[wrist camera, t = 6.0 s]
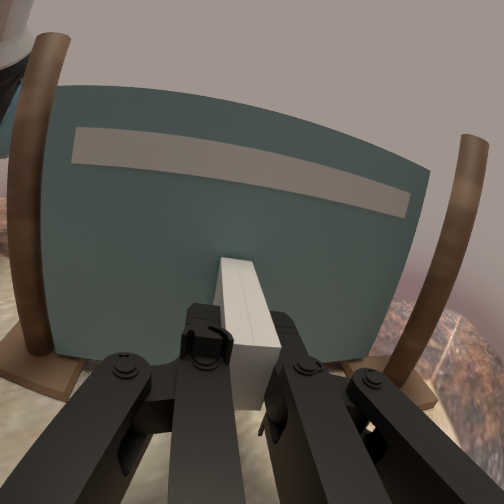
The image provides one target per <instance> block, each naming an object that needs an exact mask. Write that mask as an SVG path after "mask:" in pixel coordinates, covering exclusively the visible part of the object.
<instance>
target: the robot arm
mask: <svg viewBox="0 0 504 504" xmlns="http://www.w3.org/2000/svg"><path fill="white" fill-rule="evenodd" d="M33 2H34V0H0V159H5V158H8V157H9V153H10V144H11V136H12V129H13V123H14V117H15V112H16V107H17V102H18V97H19V93H20V89H21V85H22V81H23V77H24V74H25V70H26V67H27V63H28V60H29V57H30V54H31V51H32V48H33V45H34V42H35V37H34V35H33V34H32V33H31V31H30V30H29V29H28V28H27V21H28V18H29V15H30V11H31V8H32V5H33ZM264 401H265V406H266V413H265V415H264V418H263V421H262V423H261V426H260V428H259V431H258V436H262V434H263V431H264V429H265V434H266V439H267V444H268V449H269V454H270V459H271V463H272V468H273V473H274V477H275V482H276V487H277V491H278V496H279V500H280V504H504V491H503V490H502V489H501V488H500V487H499V486H498V485H497V484H496V483H495V482H494V481H493V480H492V479H491V478H490V477H489V476H488V475H487V474H486V473H485V472H484V471H483V470H482V469H481V468H480V467H479V466H478V465H477V464H476V463H475V462H474V461H473V460H472V459H471V458H470V457H469V456H468V455H467V454H466V453H465V452H464V451H462V450H461V449H460V448H459V447H458V446H457V445H456V444H455V443H454V442H453V441H452V440H451V439H450V438H449V437H448V436H447V435H446V434H445V433H444V432H443V431H442V430H441V429H440V428H439V427H438V426H437V425H436V424H435V423H434V422H433V421H432V420H431V419H430V418H429V417H428V416H427V415H426V414H425V413H424V412H423V411H422V410H421V409H420V408H419V407H418V406H417V405H415V404H414V403H413V402H412V401H411V400H410V399H409V398H408V397H407V396H406V395H405V394H404V393H403V392H402V391H401V390H400V389H399V388H398V387H397V386H396V385H395V384H394V383H393V382H392V381H391V380H390V379H389V378H388V377H387V376H385V375H384V374H383V373H381V372H379V371H377V370H375V369H371V368H360V369H358V370H356V371H355V372H354V374H353V375H352V377H351V378H346V377H341V376H336V375H332V374H329V372H328V370H327V368H326V367H325V365H324V364H323V363H322V362H321V361H319V360H318V359H316V358H314V357H311V356H309V354H308V352H307V350H306V348H305V345H304V343H303V341H302V339H301V337H300V336H299V332H298V330H297V329H296V326H295V324H294V321H293V319H292V318H290V317H289V316H288V315H287V314H286V313H285V312H278V311H269V309H268V307H267V304H266V301H265V298H264V295H263V292H262V289H261V286H260V283H259V280H258V277H257V275H256V272H255V269H254V266H253V263H252V261H245V260H238V259H231V258H224V257H221V259H220V265H219V271H218V277H217V283H216V290H215V296H214V302H213V305H208V304H201V303H193V304H192V305H191V306H190V307H189V308H188V309H187V314H186V321H185V328H184V330H183V332H182V334H181V346H180V355H179V356H178V358H177V359H175V360H174V361H172V362H170V363H167V364H162V365H152V366H150V364H149V363H148V362H147V361H146V360H145V359H144V358H143V357H141V356H139V355H137V354H133V353H129V352H118V353H115V354H111V355H109V356H108V357H106V358H105V359H104V360H103V361H102V362H101V363H100V364H99V365H98V366H97V367H96V369H95V370H94V371H93V372H92V373H91V374H90V376H89V377H88V378H87V379H86V380H85V381H84V383H83V384H82V385H81V386H80V387H79V389H78V390H77V391H76V392H75V393H74V395H73V396H72V397H71V398H70V399H69V401H68V402H67V403H66V404H65V405H64V407H63V408H62V409H61V410H60V411H59V413H58V414H57V415H56V416H55V418H54V419H53V420H52V421H51V422H50V424H49V425H48V426H47V427H46V429H45V430H44V431H43V433H42V434H41V435H40V436H39V438H38V439H37V440H36V441H35V443H34V444H33V445H32V447H31V448H30V449H29V450H28V452H27V453H26V454H25V456H24V457H23V458H22V460H21V461H20V462H19V464H18V465H17V466H16V468H15V469H14V470H13V472H12V473H11V474H10V476H9V477H8V478H7V480H6V481H5V483H4V484H3V485H2V487H1V488H0V504H120V503H121V501H122V499H123V497H124V495H125V493H126V491H127V489H128V487H129V484H130V482H131V480H132V478H133V476H134V474H135V472H136V470H137V468H138V466H139V463H140V461H141V459H142V457H143V455H144V453H145V451H146V449H147V447H148V445H149V443H150V440H151V438H152V436H153V434H157V433H165V432H172V436H171V450H170V465H169V484H168V504H246V501H245V494H244V487H243V479H242V472H241V465H240V457H239V449H238V441H237V432H236V424H235V415H234V410H257V411H260V410H261V407H262V405H263V402H264ZM370 421H371V423H372V424H373V425H374V426H375V427H376V428H375V429H374V430H373V432H370V431H369V430H367V429H366V427H367V426H368V424H369V423H370Z"/></svg>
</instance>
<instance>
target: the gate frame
mask: <svg viewBox="0 0 504 504" xmlns="http://www.w3.org/2000/svg"><path fill="white" fill-rule="evenodd" d="M70 41H71V38H70V37H69V36H67V35H65V34H61V33H53V32H49V33H43V34H40V35H38V36H37V37H36V39H35V42H34V45H33V48H32V51H31V54H30V57H29V60H28V63H27V67H26V70H25V74H24V77H23V81H22V85H21V89H20V93H19V97H18V102H17V107H16V112H15V117H14V123H13V129H12V136H11V144H10V153H9V163H8V179H7V233H8V248H9V258H10V267H11V275H12V282H13V289H14V295H15V300H16V305H17V310H18V315H19V322H18V323H17V324H16V325H15V326H14V327H13V328H12V329H11V331H10V332H9V333H8V334H7V335H6V336H5V338H4V339H3V340H2V341H1V342H0V376H1V377H4V378H6V379H8V380H10V381H12V382H15V383H17V384H19V385H22V386H24V387H26V388H29V389H31V390H34V391H37V392H39V393H42V394H45V395H47V396H50V397H53V398H56V399H59V400H62V401H65V402H67V400H68V398H69V396H70V394H71V391H72V389H73V387H74V385H75V383H76V381H77V378H78V376H79V374H80V372H81V370H82V368H83V366H84V364H85V362H86V360H87V359H86V358H80V357H73V356H67V355H62V354H56V350H55V345H54V341H53V336H52V331H51V326H50V320H49V314H48V308H47V301H46V294H45V286H44V276H43V265H42V249H41V190H42V175H43V164H44V154H45V146H46V139H47V132H48V126H49V121H50V115H51V110H52V105H53V101H54V96H55V92H56V88H57V84H58V80H59V76H60V72H61V69H62V66H63V62H64V59H65V56H66V53H67V50H68V47H69V44H70ZM488 150H489V143H488V142H487V141H485V140H484V139H481V138H479V137H477V136H474V135H469V134H463V135H461V142H460V149H459V155H458V161H457V166H456V172H455V177H454V182H453V187H452V192H451V196H450V200H449V204H448V209H447V212H446V216H445V220H444V224H443V227H442V230H441V234H440V237H439V240H438V244H437V247H436V250H435V253H434V256H433V259H432V262H431V265H430V268H429V271H428V274H427V276H426V279H425V282H424V284H423V287H422V289H421V292H420V294H419V297H418V300H417V302H416V304H415V306H414V309H413V311H412V313H411V316H410V318H409V320H408V322H407V325H406V327H405V329H404V331H403V333H402V335H401V337H400V340H399V342H398V344H397V346H396V348H395V350H394V352H393V354H392V355H386V356H367V357H365V358H358V359H350V360H343V361H342V363H341V366H342V368H343V370H344V371H345V373H346V375H347V377H348V378H351V377H352V375H353V374H354V372H355V371H356V370H358V369H360V368H371V369H375V370H377V371H379V372H381V373H383V374H384V375H385V376H387V377H388V378H389V379H390V380H391V381H392V382H393V383H394V384H395V385H396V386H397V387H398V388H399V389H400V390H401V391H402V392H403V393H404V394H405V395H406V396H407V397H408V398H409V399H410V400H411V401H412V402H413V403H414V404H415V405H417V406H418V407H419V408H420V409H421V410H426V409H429V408H433V407H434V406H435V404H436V403H437V402H438V398H437V397H436V396H435V395H434V393H433V392H432V391H431V389H430V388H429V387H428V386H427V384H426V383H425V382H424V381H423V380H422V378H421V377H420V376H419V375H418V373H417V372H416V371H415V370H414V367H415V365H416V363H417V362H418V360H419V358H420V356H421V354H422V353H423V351H424V349H425V347H426V345H427V343H428V341H429V339H430V337H431V335H432V333H433V331H434V329H435V327H436V325H437V323H438V321H439V319H440V316H441V314H442V312H443V310H444V307H445V305H446V303H447V300H448V298H449V296H450V293H451V291H452V288H453V286H454V283H455V280H456V278H457V275H458V272H459V270H460V267H461V264H462V261H463V258H464V255H465V252H466V249H467V246H468V242H469V239H470V236H471V232H472V229H473V225H474V221H475V217H476V214H477V210H478V205H479V201H480V197H481V192H482V187H483V181H484V176H485V170H486V163H487V157H488Z"/></svg>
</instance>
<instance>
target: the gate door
mask: <svg viewBox="0 0 504 504" xmlns="http://www.w3.org/2000/svg"><path fill="white" fill-rule="evenodd" d="M429 176H430V170H428V169H426V168H424V167H422V166H420V165H418V164H416V163H414V162H411V161H409V160H407V159H405V158H403V157H401V156H398V155H396V154H394V153H392V152H389V151H387V150H385V149H382V148H380V147H378V146H375V145H373V144H370V143H368V142H365V141H363V140H360V139H358V138H355V137H352V136H350V135H347V134H344V133H341V132H339V131H336V130H333V129H330V128H327V127H324V126H321V125H318V124H315V123H312V122H309V121H305V120H302V119H299V118H296V117H292V116H288V115H285V114H281V113H278V112H274V111H270V110H267V109H263V108H258V107H254V106H250V105H246V104H241V103H236V102H232V101H227V100H222V99H216V98H211V97H206V96H200V95H194V94H187V93H180V92H173V91H165V90H156V89H146V88H134V87H120V86H93V85H91V86H90V85H89V86H88V85H73V86H57V88H56V92H55V96H54V101H53V105H52V110H51V115H50V121H49V126H48V132H47V139H46V146H45V154H44V164H43V175H42V190H41V249H42V265H43V276H44V286H45V294H46V301H47V308H48V314H49V320H50V326H51V331H52V336H53V341H54V345H55V350H56V354H62V355H67V356H73V357H80V358H86V359H93V360H101V361H103V360H104V359H105V358H106V357H108V356H109V355H111V354H115V353H118V352H129V353H133V354H137V355H139V356H141V357H143V358H144V359H145V360H146V361H147V362H148V363H149V364H150V366H152V365H162V364H167V363H170V362H172V361H174V360H175V359H177V358H178V356H179V355H180V346H181V334H182V332H183V330H184V328H185V321H186V314H187V309H188V308H189V307H190V306H191V305H192V304H193V303H201V304H208V305H213V302H214V296H215V290H216V283H217V277H218V271H219V265H220V259H221V257H224V258H231V259H238V260H245V261H252V263H253V266H254V269H255V272H256V275H257V277H258V280H259V283H260V286H261V289H262V292H263V295H264V298H265V301H266V304H267V307H268V309H269V311H278V312H285V313H286V314H287V315H288V316H289V317H290V318H292V319H293V321H294V324H295V326H296V329H297V330H298V332H299V336H300V337H301V339H302V341H303V343H304V345H305V348H306V350H307V352H308V354H309V356H311V357H314V358H316V359H318V360H319V361H321V362H322V363H326V362H334V361H343V360H350V359H358V358H365V357H367V355H368V353H369V351H370V349H371V347H372V345H373V343H374V341H375V339H376V336H377V334H378V332H379V330H380V327H381V325H382V323H383V321H384V318H385V316H386V313H387V311H388V309H389V306H390V304H391V301H392V299H393V296H394V294H395V291H396V288H397V286H398V283H399V280H400V277H401V274H402V272H403V269H404V266H405V263H406V260H407V257H408V254H409V251H410V248H411V244H412V242H413V238H414V235H415V232H416V228H417V225H418V221H419V217H420V214H421V210H422V206H423V202H424V198H425V193H426V189H427V185H428V180H429Z"/></svg>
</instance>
